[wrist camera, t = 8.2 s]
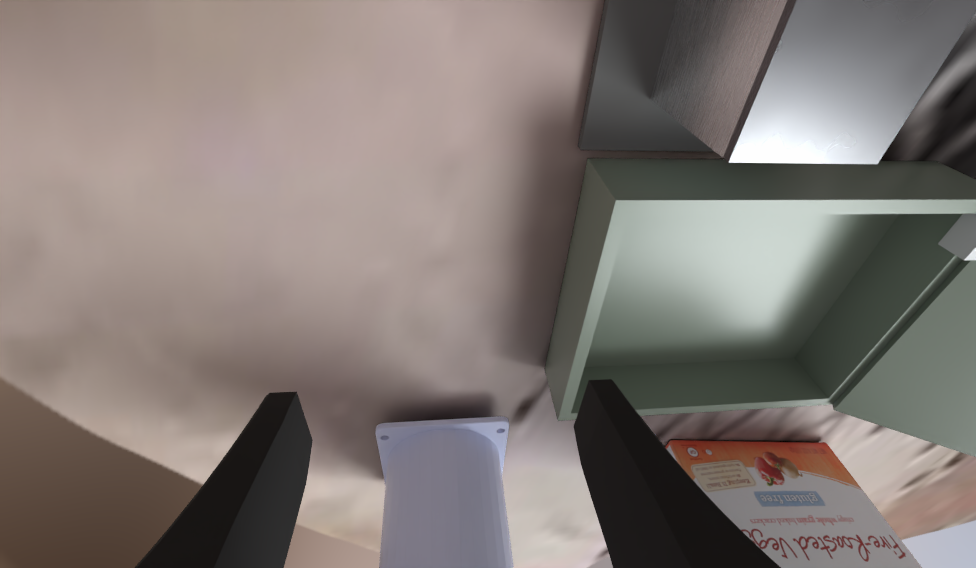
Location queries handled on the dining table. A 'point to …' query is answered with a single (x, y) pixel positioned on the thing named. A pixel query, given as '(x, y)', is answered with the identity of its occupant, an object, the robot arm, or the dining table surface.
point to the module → (803, 74)
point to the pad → (631, 82)
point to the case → (774, 291)
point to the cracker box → (794, 503)
